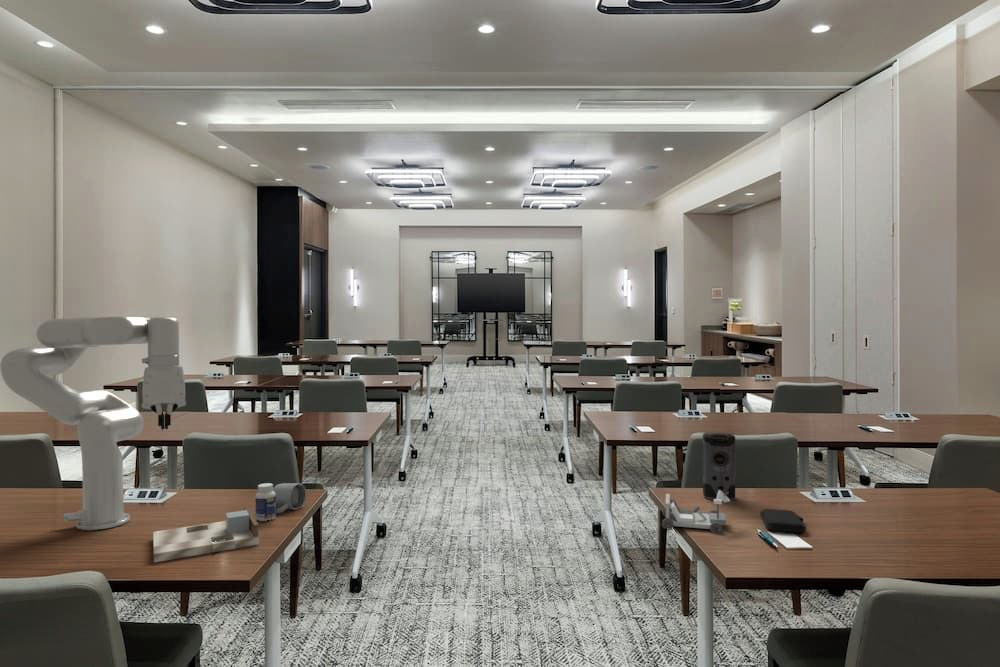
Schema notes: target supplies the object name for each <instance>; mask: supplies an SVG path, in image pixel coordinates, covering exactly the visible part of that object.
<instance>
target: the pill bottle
mask: <svg viewBox="0 0 1000 667" xmlns="http://www.w3.org/2000/svg"><path fill="white" fill-rule="evenodd" d="M273 488H274V484H273V483H270V482H267V483H265V482H264V483H260V484H258V485H257V491H258V492H256V493H255V496H254V497H255V519H256V521H257V520H258V521H257V522H268V521H267V520H269V521H272V520H274V519H275V518H276V515H277V514H276V509H277V507H276V494H275V492H274V491H272V490H273ZM271 519H272V520H271Z"/></svg>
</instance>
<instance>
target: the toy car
mask: <svg viewBox="0 0 1000 667" xmlns="http://www.w3.org/2000/svg"><path fill="white" fill-rule="evenodd" d="M728 493H729V492H727V493H726V494H724V493H723V492H722V491H721V490H719V491H718V494H717V499H714V500H713V504H714V505H716V510H715V509H712V510H709V511H708V513H702V512H700V507H699V506H698V505H697V506H696V507H694V509H682V508H681V509H680V508H679V506H678V504H677V502H676V500H675V498H671V496H670V493H666V494H665V507H664V508H663V509H662V516H664V517H665V518H664V519H662V522H661V527H662V528H663V529H668V530H672V529H673V528H674V527H678V528H680V527H682V528H694V529H706V530H710V531H711V533H717V534H720V533H721V532H722V531H723V527H722V525H727V518H726V515H725V513H719V506H720V505H723V504H725V503H729V502H731V500H729V498H728V497H727V496H726V495H727V494H728ZM670 498H671V499H670Z"/></svg>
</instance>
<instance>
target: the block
mask: <svg viewBox="0 0 1000 667" xmlns="http://www.w3.org/2000/svg"><path fill="white" fill-rule="evenodd" d="M225 521H226V529H227V532H228V534H229V533H236V532H242V531H248V530H249V514H248V512H247V510H245V509H244V510H237V511H230V512H226V513H225Z"/></svg>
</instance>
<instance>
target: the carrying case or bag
mask: <svg viewBox="0 0 1000 667" xmlns="http://www.w3.org/2000/svg"><path fill="white" fill-rule="evenodd" d="M759 514H760V518H761V519H762V521H763V525H764V526H765V528H766V529H767V531H769V532H770V533H774V534H775V533H776V534H785V535H786V534H790V535H803V534H804V533H805V532H806V530H807V527H806V526H805V524H804V518H803V517H802V516H800V515H799V514H796V512H795V511H793V510H786V509H772V508H763V509H762V510H761V511H760V513H759Z"/></svg>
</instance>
